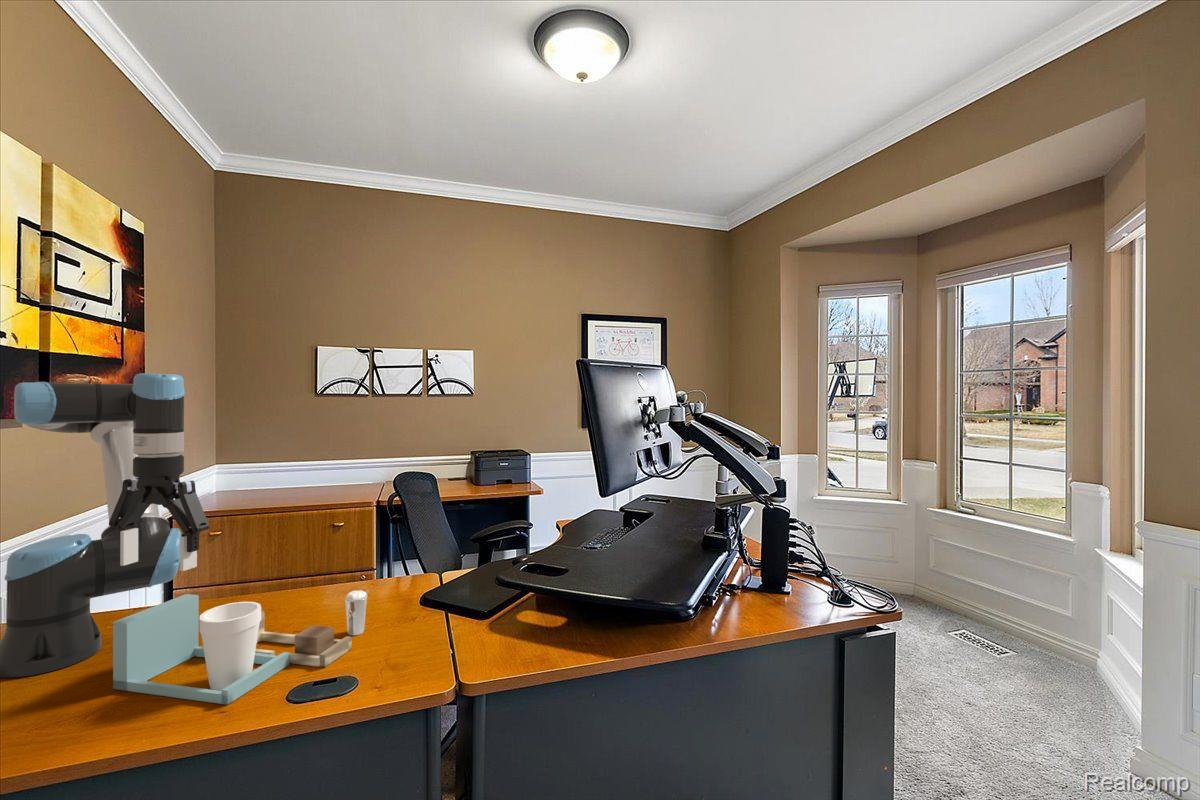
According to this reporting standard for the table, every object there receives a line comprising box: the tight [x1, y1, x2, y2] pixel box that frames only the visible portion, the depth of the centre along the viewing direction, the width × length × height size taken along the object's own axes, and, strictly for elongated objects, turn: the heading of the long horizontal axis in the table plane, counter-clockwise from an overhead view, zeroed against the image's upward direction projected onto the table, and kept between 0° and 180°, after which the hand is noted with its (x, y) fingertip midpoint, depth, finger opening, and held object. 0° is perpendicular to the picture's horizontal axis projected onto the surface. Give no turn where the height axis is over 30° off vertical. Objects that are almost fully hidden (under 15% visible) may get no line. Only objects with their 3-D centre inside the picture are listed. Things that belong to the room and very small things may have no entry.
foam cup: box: [199, 601, 262, 691], centre depth 99 cm, size 10×9×13 cm
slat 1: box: [255, 610, 296, 655], centre depth 111 cm, size 12×8×6 cm, turn 79°
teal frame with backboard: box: [112, 593, 290, 705], centre depth 100 cm, size 24×14×12 cm, turn 79°
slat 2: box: [287, 635, 353, 668], centre depth 109 cm, size 10×8×2 cm
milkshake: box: [344, 588, 370, 637], centre depth 119 cm, size 4×5×10 cm
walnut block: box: [294, 624, 335, 656], centre depth 109 cm, size 5×5×5 cm
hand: (158, 566), depth 102 cm, fingers open, 13 cm apart
